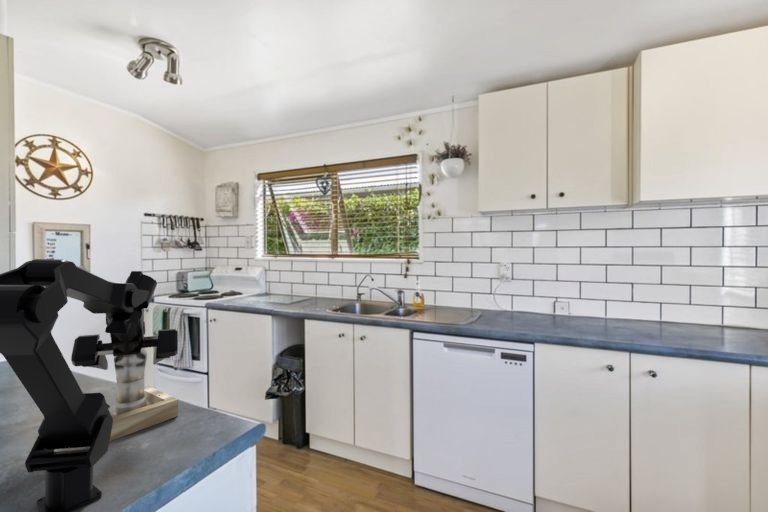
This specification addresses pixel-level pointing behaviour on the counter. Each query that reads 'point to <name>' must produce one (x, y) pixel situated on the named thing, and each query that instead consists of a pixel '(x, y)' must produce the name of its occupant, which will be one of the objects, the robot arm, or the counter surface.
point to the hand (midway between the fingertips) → (131, 365)
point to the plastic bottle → (130, 382)
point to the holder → (145, 414)
